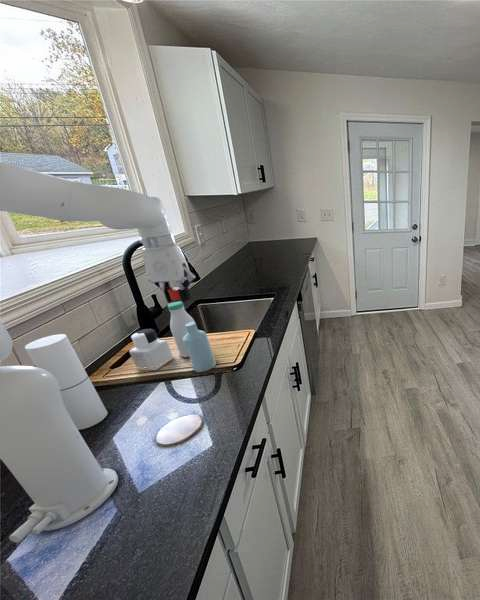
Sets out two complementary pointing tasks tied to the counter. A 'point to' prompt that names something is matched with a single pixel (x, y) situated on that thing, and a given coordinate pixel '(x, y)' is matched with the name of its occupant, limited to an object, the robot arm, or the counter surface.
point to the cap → (174, 293)
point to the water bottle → (198, 348)
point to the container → (149, 350)
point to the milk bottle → (179, 325)
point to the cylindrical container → (68, 379)
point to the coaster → (179, 430)
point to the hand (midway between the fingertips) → (179, 300)
